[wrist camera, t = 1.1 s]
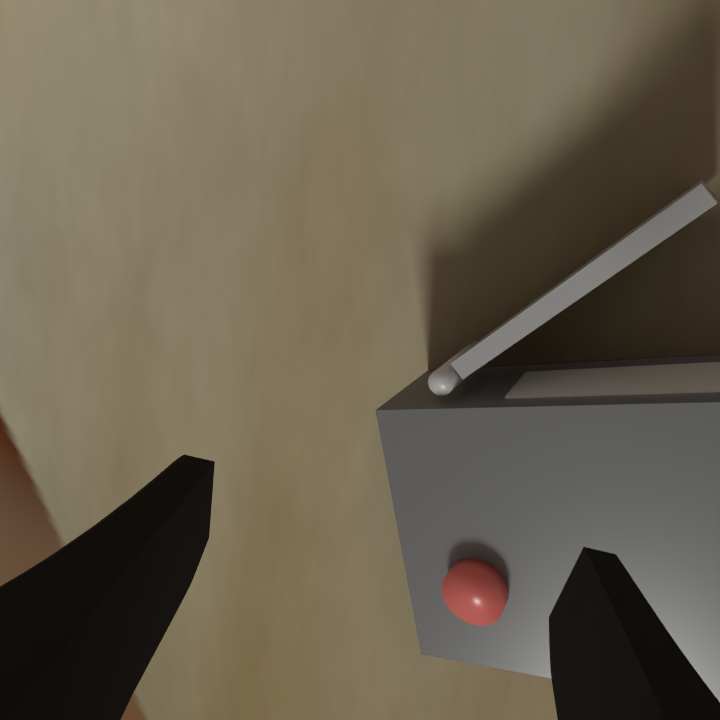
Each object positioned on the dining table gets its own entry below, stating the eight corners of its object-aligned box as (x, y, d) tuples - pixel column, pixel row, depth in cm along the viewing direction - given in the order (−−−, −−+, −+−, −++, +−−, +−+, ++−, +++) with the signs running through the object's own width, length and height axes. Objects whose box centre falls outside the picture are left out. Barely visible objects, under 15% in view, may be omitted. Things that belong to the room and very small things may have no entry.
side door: (699, 177, 18) (698, 179, 15) (716, 198, 18) (720, 207, 15) (462, 348, 23) (423, 379, 19) (476, 366, 23) (438, 400, 19)
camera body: (866, 343, 17) (920, 403, 13) (871, 629, 19) (921, 764, 15) (427, 368, 24) (367, 414, 20) (462, 581, 26) (414, 666, 21)
